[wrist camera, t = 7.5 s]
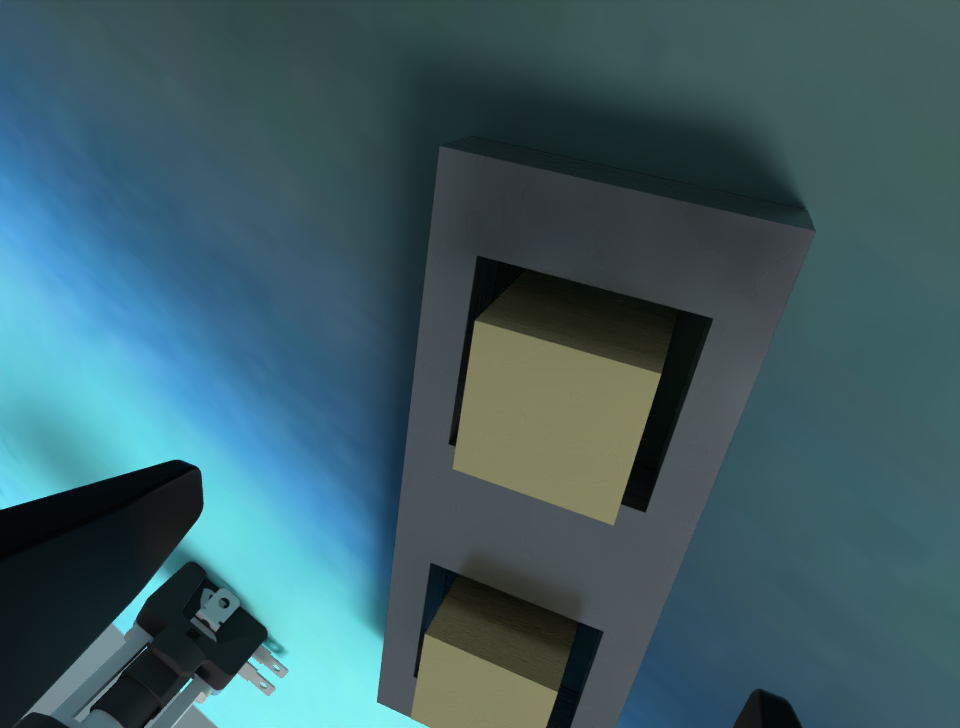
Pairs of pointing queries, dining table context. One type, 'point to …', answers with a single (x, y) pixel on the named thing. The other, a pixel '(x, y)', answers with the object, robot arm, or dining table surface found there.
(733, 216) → the rectangular frame
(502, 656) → the tan wooden cube
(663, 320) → the beige wood block
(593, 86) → the dining table surface
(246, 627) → the push button
